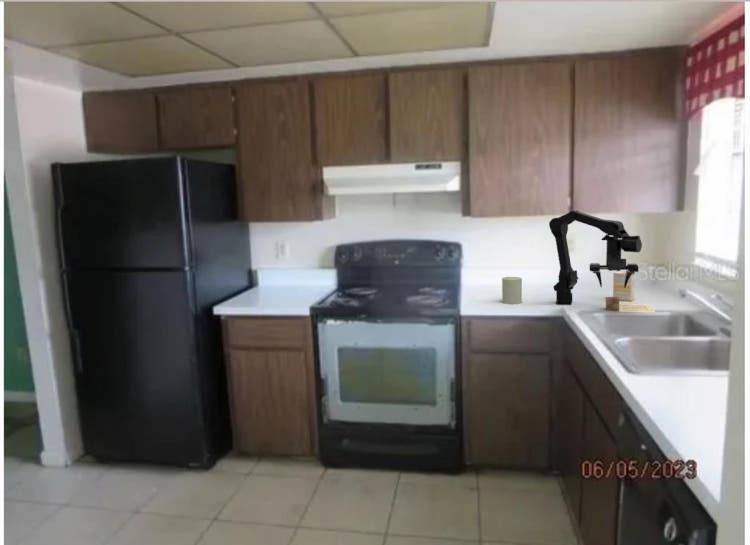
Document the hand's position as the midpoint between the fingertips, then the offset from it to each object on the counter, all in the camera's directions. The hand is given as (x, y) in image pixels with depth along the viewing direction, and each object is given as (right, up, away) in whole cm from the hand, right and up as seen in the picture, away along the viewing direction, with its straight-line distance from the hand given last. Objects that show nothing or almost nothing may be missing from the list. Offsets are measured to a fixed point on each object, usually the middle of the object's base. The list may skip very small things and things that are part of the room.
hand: (612, 287), depth 226 cm
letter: (+10, -9, +2) cm, 14 cm away
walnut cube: (0, -10, +1) cm, 10 cm away
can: (-37, -8, +25) cm, 45 cm away
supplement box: (+14, -7, +19) cm, 25 cm away
